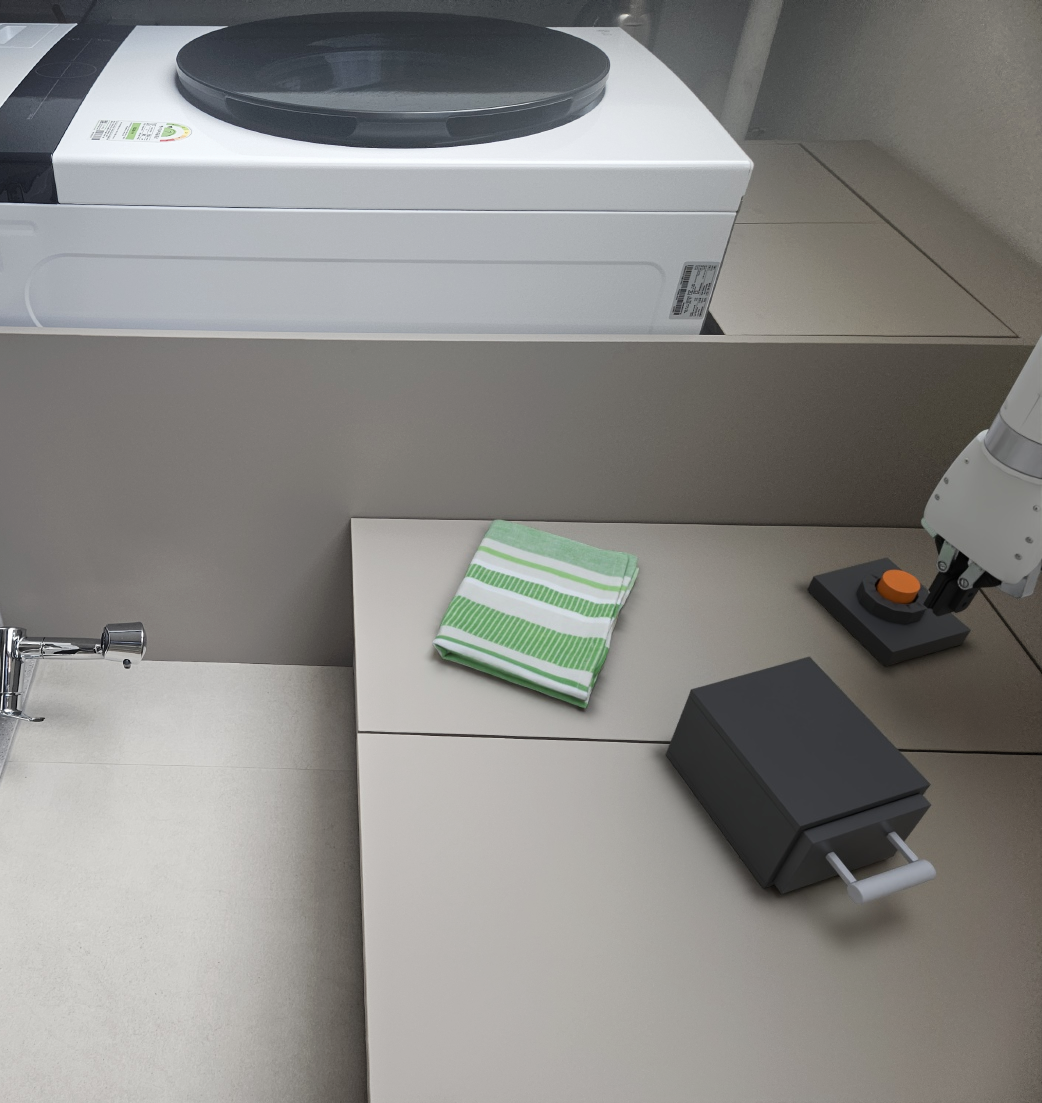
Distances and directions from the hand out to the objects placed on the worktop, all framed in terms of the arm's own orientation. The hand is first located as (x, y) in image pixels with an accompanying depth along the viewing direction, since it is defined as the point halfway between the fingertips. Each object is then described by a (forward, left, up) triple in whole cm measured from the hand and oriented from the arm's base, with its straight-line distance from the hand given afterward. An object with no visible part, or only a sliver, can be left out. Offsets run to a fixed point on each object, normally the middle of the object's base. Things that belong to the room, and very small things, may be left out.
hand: (942, 607), depth 88 cm
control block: (-2, -12, -13) cm, 18 cm away
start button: (-2, -12, -9) cm, 15 cm away
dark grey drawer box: (+13, +15, -13) cm, 24 cm away
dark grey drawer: (+11, +18, -12) cm, 25 cm away
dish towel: (+35, -5, -13) cm, 38 cm away
